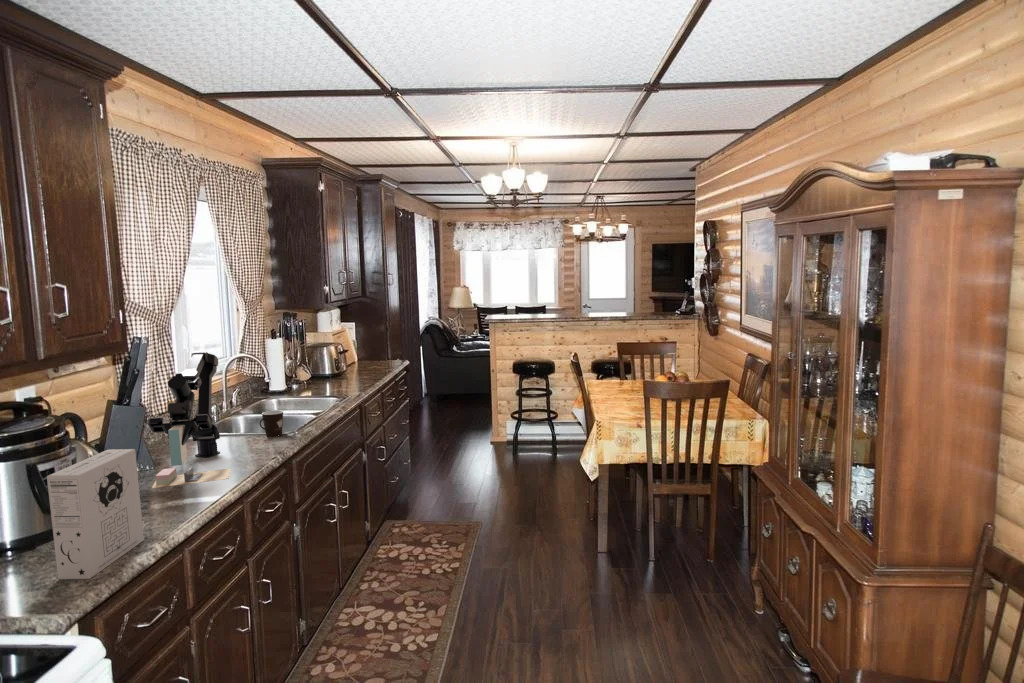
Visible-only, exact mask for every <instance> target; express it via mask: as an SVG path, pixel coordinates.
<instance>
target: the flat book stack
mask: <svg viewBox="0 0 1024 683" xmlns="http://www.w3.org/2000/svg"><path fill="white" fill-rule="evenodd" d="M177 475H178V472H177V467H171V468H170V467H169V468H162V470H160V471H159V472H158V473H156V475H155V481H156V485H161V484H170V483H171V482H172V481H173V480H174V479H175V478H176V477H177Z"/></svg>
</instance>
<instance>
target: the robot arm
mask: <svg viewBox="0 0 1024 683" xmlns="http://www.w3.org/2000/svg"><path fill="white" fill-rule="evenodd" d="M190 356H191V358H190V360H189V362H188V365H186V366H187V367H186V369H185V370H184V371H182V372H181V371H180V372H179V373H177V372H176V373H175V375H174V376H172V377H170V379H168V381H167V387H168V388H169V390H170V392H171V394H172V396H173V397H175V399H174V401H175V402H169V403H167V414H169V419H168V418H167V419H164V418H163V416H157V417H154V416H153V417H150V418H148V422H147V425H148V427H149V428H150V430H151V431H152V432H153V433H154V434H155V433H165V434H166V435H167V437H168V439H169V434H168V430H169V429H171V428H172V427H173V426H179V425H184V426H185V430H184V433H183V437H182V445H184V444H185V443H186V444H187V442H188V440H189V439H190V438H191V437H192V442H196V445H197V446H196V447H197V454H194V457H200V458H210V457H213V456H216V455H218V454H220V453H221V451H219V450H218V442H217V440H218V439H221V435H220V430H219V428H218V426H217V424H216V420H215V417H213V415H212V390H213V389H212V388H213V386H212V385H213V382H212V381H213V377H214V376H215V375H216V373H217V368H218V366H219V358H218V357H217V356H216V355H215V354H212V353H208V352H207V351H203V350H202V351H193V352H191V355H190ZM194 391H198V398H197V399H198V401H197V414H196V415H195V416H194V417H193V418H192V415H193V413H194V411H193V408H194V402H195V401H196V399H195V395H196V394H195V393H194Z"/></svg>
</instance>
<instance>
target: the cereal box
mask: <svg viewBox="0 0 1024 683" xmlns="http://www.w3.org/2000/svg"><path fill="white" fill-rule="evenodd" d="M136 452H137V451H136V449H134V448H128V449H127V448H125V449H123V448H120V449H117V448H116V449H114V448H112V449H106V450H104V451H101V452H99V453H97V454H95V455H92V456H90V457H88V458H85V459H83V460H81V461H79V462H77V463H74V464H72V465H68V466H67V467H65V468H62V469H60V470H58V471H55V472H53V473H51V474H49V475H47V476H46V480H47V481H46V482H47V489H48V491H47V492H48V500H49V507H50V508H49V509H50V517H51V525H52V534H53V535H52V536H53V543H54V551H55V560H56V561H55V563H56V570H57V579H58V580H90V579H92V578H93V577H94V576H96V575H98V573H100V572H101V571H103V570H104V569H106V567H108V566H110V565H112V564H113V563H114V562H115V561H117V560H118V559H120V558H121V557H123V556H124V555H125V554H127V553H128V552H130V551H131V550H132V549H134V548H136V546H138V545H140V544H141V543H142V542H143V541H145V540H144V539H145V538H144V527H143V516H142V507H141V506H142V505H141V495H140V484H139V476H138V463H137V454H136Z"/></svg>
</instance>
